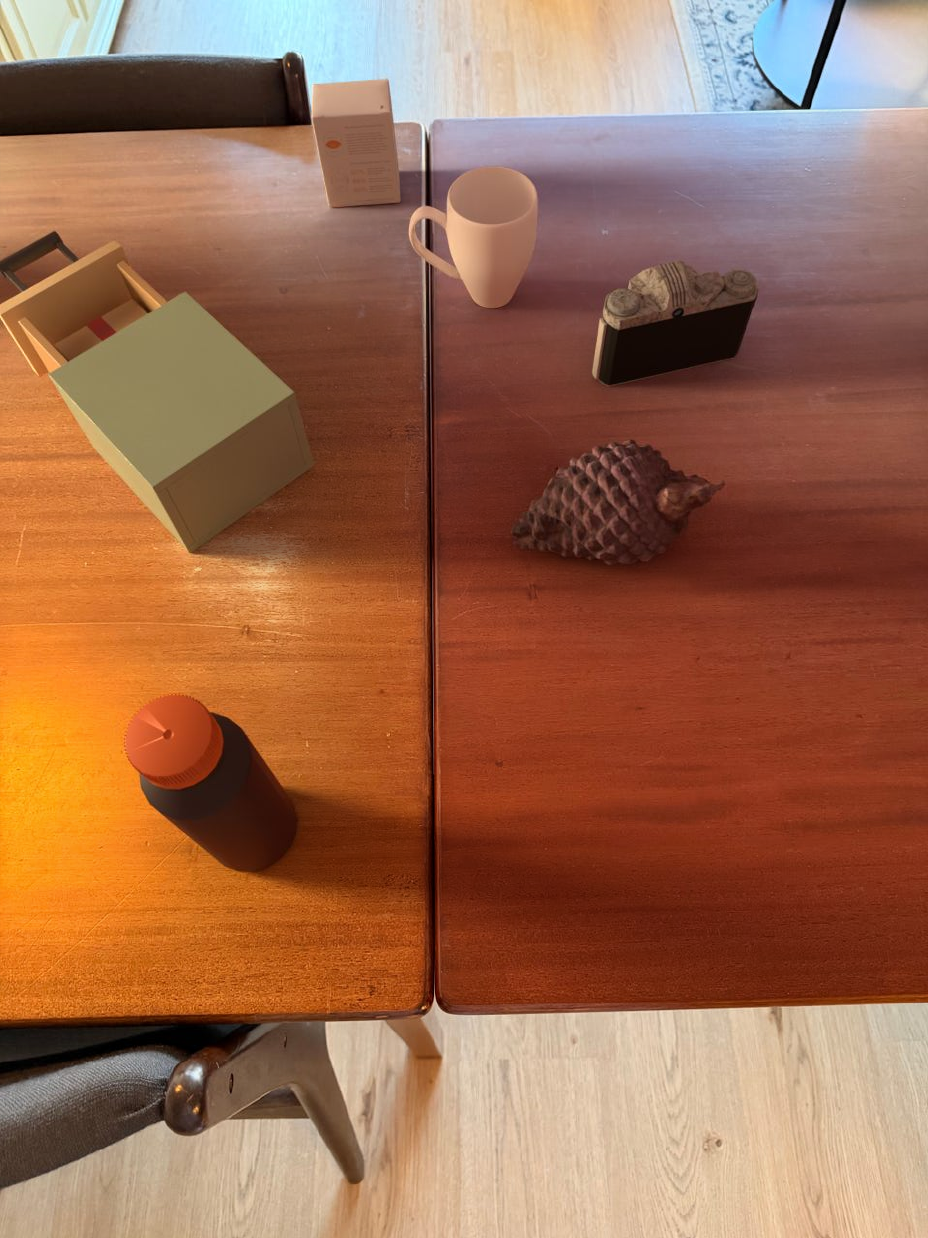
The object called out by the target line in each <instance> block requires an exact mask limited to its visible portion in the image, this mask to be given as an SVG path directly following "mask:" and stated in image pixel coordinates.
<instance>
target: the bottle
mask: <svg viewBox="0 0 928 1238" xmlns="http://www.w3.org/2000/svg"><path fill="white" fill-rule="evenodd" d="M129 721H130V722H129V723H128V725H127V727H126V730H125V734H124V736H125V737H124V739H123V740H124V742H123V744H125V745H124V746H123V747H124V748H125V749H124V751H125V755H126V758H127V761H129V764H131V766H132V768H134V769H135V770H136V771H137V773H138V774H139V776H138V777H139V783H140V789H141V791H142V793H143V795H144V796H145V799H146V801H147V802H148V804H149V805H150V806H151V807H153V808H154V810H156V811H157V812H159V814H160V815H161V816H163V817H164V818H166V820H168V821H169V822H170V823H171V824H173V825H174V826H175V827H176V828H178V829H179V830H180V831H181V832H182V833H184V834H185V835H186V836H187V837H188V838H190V839H191V840H192V841H193V842H194V843H196V844H197V845H198V846H199V847H201V848H202V849H203V850H204V851H206V853H208V855H210V856H212V857H213V858H214V859H215V860H216V861H218V862H219V863H220V864H221V865H222V866H223V867H224V868H228V869H230V870H233V871H236V872H240V873H241V872H242V873H243V872H244V873H254V872H257V871H260V870H264V869H267V868H269V867H271V866H273V865H274V864H275V863H277V862H279V861H280V860H281V859H282V858H283V856H285V854H286V853H287V852H288V851H289V849H290V848H291V846H292V844H293V841H294V839H295V837H296V835H297V829H298V821H299V820H298V814H297V810H296V806H295V804H294V803H293V801H292V799H291V798H290V796H289V794H288V792H287V791H286V789H285V788H284V787H283V785H282V784H281V782H280V781H279V779H278V778H277V776H275V773H274V772H273V771H272V770H271V767H269V765H268V764H267V762H266V761H265V759H264V758H263V757H262V755H261V754H260V752H259V751H258V749H257V748H256V747H255V745H254V744H253V742H252V741H251V739H250V738H249V736H248V735H247V734H246V732H245V731H244V729H243V728H242V727H241V726H240V725H239V724H237V723H236V722H235V721H233V720H232V719H231V718H230V717H228V716H225V715H222V714H219V713H216V712H213V711H210V710H209V709H208V708H207V706H206V705H204V704H203V703H201V701H200V700H198V699H197V698H195V697H192V696H188V695H187V694H185V695H184V694H180V693H178V694H177V693H175V694H173V693H171V694H167V695H165V694H164V695H163V696H159V697H156V698H155V699H154V698H153V699H152V700H151V701H150V700H149V702H148V703H146V702H145V704H144V705H142V707H141V708H139V710H138V711H136V713H134V714H133V716H132V717H131V720H129Z"/></svg>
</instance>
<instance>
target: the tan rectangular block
mask: <svg viewBox="0 0 928 1238" xmlns="http://www.w3.org/2000/svg"><path fill="white" fill-rule="evenodd" d="M147 314H148V313H147V312H146V311H145V310H144V309H143V308H142V307H141V306H140V305H139V304H138V303H137V302H136V301H135V300H134V299H131V300H129V301H127V302H126V303H124V304H122V305H120V306H119V307H117V308H115V309H114V310H112V311H110V312H109V313H107V314H105V315H104V316H102V317H99V318H97V319H96V320H94V321H92V322H91V323H89V324H87V325H86V326H85V327H83V328H82V329H80V330H78V331H77V332H75V333H73V334H72V335H70V336H68V337H67V338H65V339H63V340H61V341H60V342H58V343H56V344H55V345H54V346H55V348H56V349H57V350H58V351H59V353H60V354H61V355H62V356H63V357H64V358H65V359H66V360H67V361H68V362H69V361H71V360H72V359H74V358H76V357H77V356H79V355H81V354H82V353H84V352H86V351H87V350H89V349H91V348H92V347H94V346H95V345H97V344H99V343H100V342H102V341H104V340H105V339H107V338H109V337H110V336H112V335H114V334H115V333H117V332H119V331H120V330H122V329H124V328H125V327H127V326H129V325H130V324H132V323H134V322H135V321H137V320H139V319H140V318H142V317H144V316H145V315H147Z"/></svg>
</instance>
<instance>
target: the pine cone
mask: <svg viewBox="0 0 928 1238" xmlns="http://www.w3.org/2000/svg"><path fill="white" fill-rule="evenodd" d="M725 486H726V481H725V480H724V479H723V480H720V481H719V482H717V483H716V484H715V483H714V484H713V483H711V482H710V481H708V480H707V479H706V478H704V477H700V476H698V474H692V475H690V476H686V475H685V472H684V471H683V470H681V469H680V470H677V471H676V470H673V469H672V468H671V465H670V464H669V460H667V459H665V458H664V457H662V451H660V450H658V449H654V448H653V447H652V445H651V444H645V445H644V444H643V445H641V446H639V444H638V443H637V442H636V440H635V439H628V440H625V441H623V443H621V444H620V443H619V442H616V441H610V442H608V443H605V444H603V445H596V446H594V447H592V451H585V452H584V453H583V454H582V455H581V456H578V457H577V456H573V457H571V459H570V460H569V466H567V467H565V466H564V467H559V468H558V470H557V471H556V474H555V476H553V477H551V478H550V480H549V481H548V484H547V486H546V487H545V488H544V490H543V493H542V494H543V495H540V496H539V497H537V498H536V499H534V500H531V501H530V503H529V508H528V509H527V511H523V512H522V513H521V514H520V517H518V519H517V522H514V523H512V525H511V530H510V537H513V538H514V540H513V542H512V544H513V545H514V546H515V547H516V548H517V549H523V550H528V549H531V550H533V551H541V552H543V553H548V552H552V553H556V554H558V555H561V556H562V557H564V558H565V557H566V558H567V557H574V558H579V559H581V558H586V559H587V560H589V561H592V560H595V559H599V560H603V561H604V563H605V564H607V565H609V566H611V565H615V564H616V563H620V564H628V565H632V564H636V563H637V562H638V561H639V560H640V561H641V562H648V561H650V560H652V559H653V558H652V557H654V556H655V555H656V554H662V553H666V550H667V547H668V545H670V543H672V542H673V541H675V540H676V537H677V536H678V535H680V537H684V536H685V535H686V534H687V531H688V526H689V516H690V514H691V512H692V511H693V510H695V509H696V508H700V507H703V506H705V505H706V504H708V503H709V502H710V501H712V500H713V497H714V496H715V493H716V492H717V491H720V490H722V489H723V488H724V487H725Z"/></svg>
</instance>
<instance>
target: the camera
mask: <svg viewBox="0 0 928 1238" xmlns="http://www.w3.org/2000/svg"><path fill="white" fill-rule="evenodd" d="M758 293H759V288H758V285H757V279H756V277H755V275H754V274H753V273H752V272H751V271H748V270H746V269H742V268H735V269H731V270H729V271H727V272H726V273H725V275H721V274H720V272H719V270H718V269H717V270H713V271H708V272H703V273H698V272H697V271H696V270H695V268H693V267H692V266H691V265H688V264H685V261H683V260H677V261H673V262H672V261H671V262H667V263H663V264H658V265H654V266H651V267H649V268H646V269H643V270H642V271H640V272H639V273H638V274H636V275H635V276H633V277H631V278H629V281H628V287H627V288H617V289H614V290H613V291H612V292H611V293H608V294H606V296H605V298H604V303H603V309H602V316H601V317H600V318H599V322H598V329H597V337H596V343H595V351H594V356H593V364H592V369H591V375H592V376H593V378H594V379H595V380H597V381H598V382H600V383H601V384H603V385H604V386H607V387H614V386H618V385H622V384H626V383H627V384H628V383H631V382H636V381H641V380H645V379H648V378H653V377H657V376H662V375H667V374H671V373H676V372H680V371H684V370H689V369H694V368H697V367H702V366H705V365H710V364H714V363H719V362H724V361H728V360H733V359H735V357H736V356H737V354H739V351H740V348H741V345H742V342H743V339H744V336H745V333H746V330H747V327H748V325H749V322H750V319H751V316H752V314H753V310H754V307H755V304H756V301H757V298H758Z"/></svg>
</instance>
